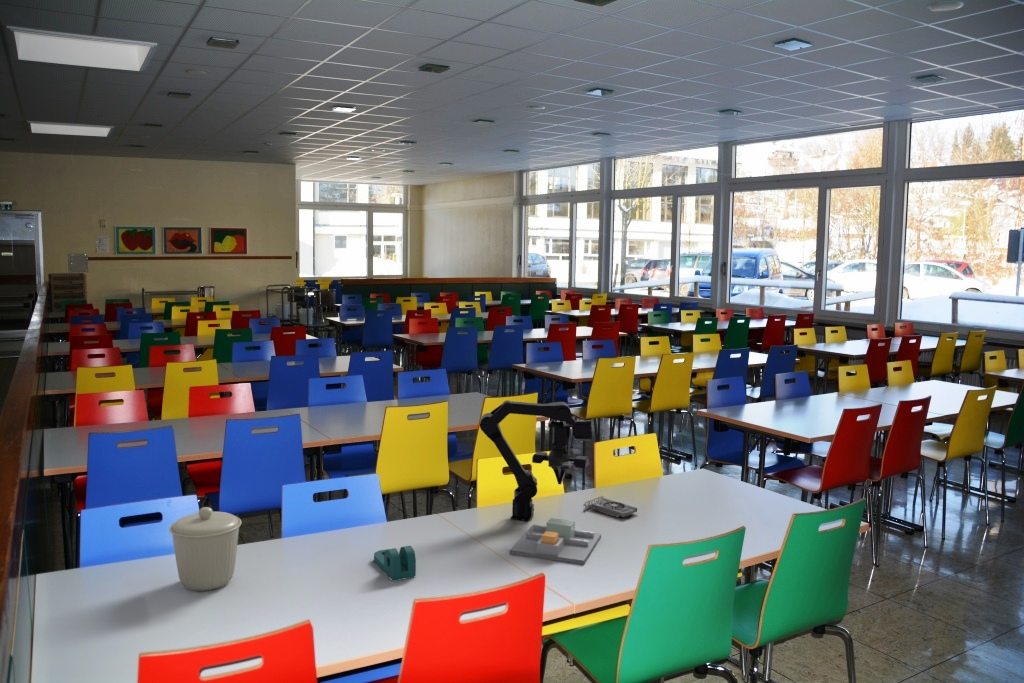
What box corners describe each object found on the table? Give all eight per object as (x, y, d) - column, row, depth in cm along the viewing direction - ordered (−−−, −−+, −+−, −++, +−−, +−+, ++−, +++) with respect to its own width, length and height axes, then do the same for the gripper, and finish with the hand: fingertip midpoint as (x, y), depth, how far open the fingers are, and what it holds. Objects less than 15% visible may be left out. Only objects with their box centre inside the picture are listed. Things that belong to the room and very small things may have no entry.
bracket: (415, 577, 222) (415, 550, 222) (392, 581, 219) (392, 554, 218) (392, 555, 238) (392, 529, 237) (370, 559, 235) (370, 533, 234)
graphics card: (581, 502, 283) (601, 494, 291) (580, 512, 283) (601, 504, 292) (619, 514, 271) (640, 505, 280) (619, 524, 272) (639, 516, 280)
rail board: (509, 553, 241) (510, 540, 240) (532, 528, 263) (533, 515, 263) (584, 564, 234) (584, 550, 233) (601, 537, 256) (601, 524, 256)
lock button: (541, 551, 240) (542, 535, 239) (545, 546, 243) (545, 531, 243) (554, 553, 238) (555, 537, 238) (558, 548, 242) (558, 532, 242)
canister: (188, 568, 224) (186, 496, 222) (252, 571, 224) (251, 498, 221) (158, 596, 206) (155, 517, 204) (227, 598, 206) (225, 520, 204)
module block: (546, 538, 251) (546, 522, 251) (550, 533, 256) (550, 517, 255) (570, 541, 249) (571, 526, 248) (574, 536, 253) (575, 521, 253)
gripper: (528, 442, 266) (526, 487, 268) (582, 447, 260) (580, 493, 262) (537, 435, 277) (536, 478, 278) (590, 440, 271) (588, 484, 273)
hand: (559, 484), depth 273 cm, fingers closed
